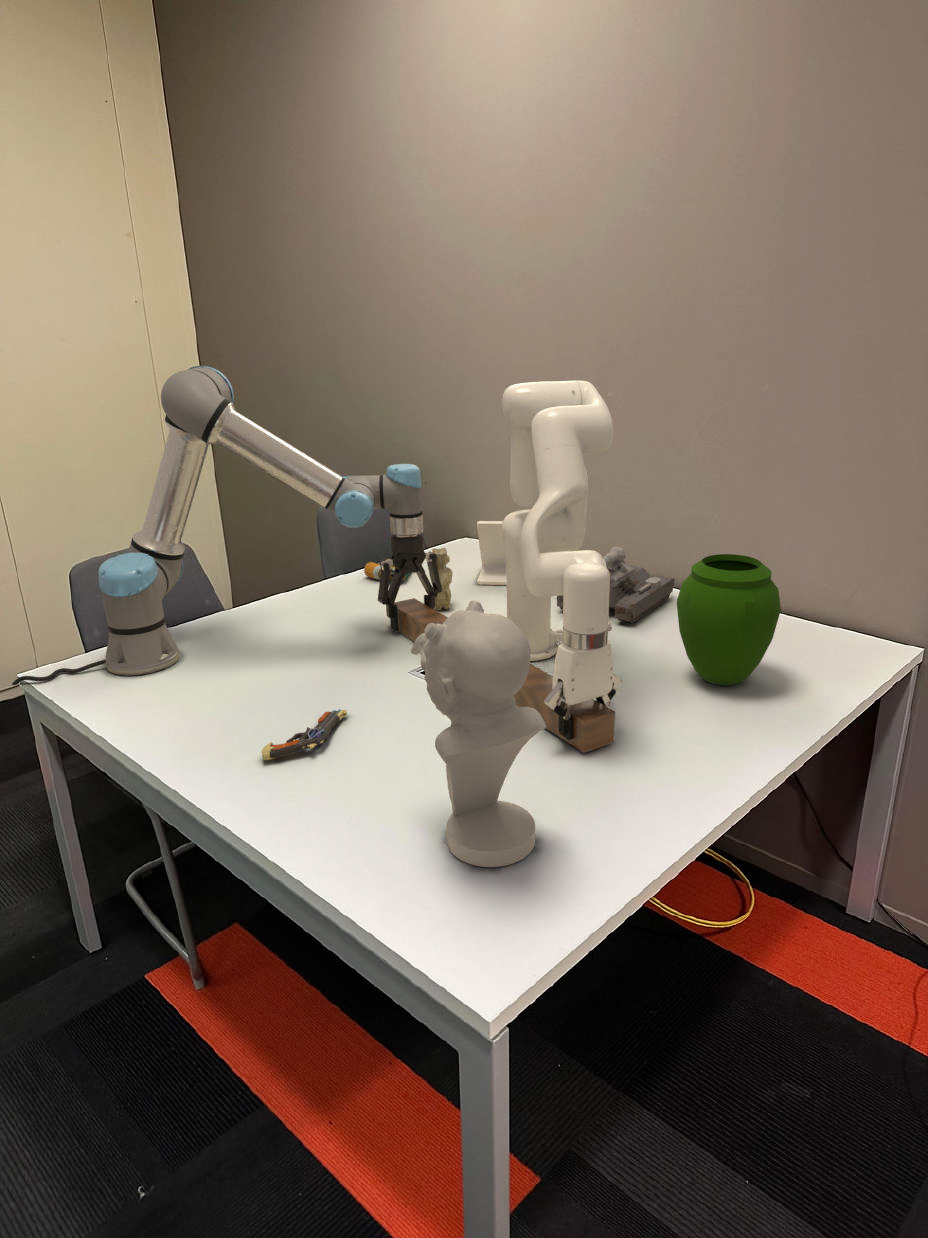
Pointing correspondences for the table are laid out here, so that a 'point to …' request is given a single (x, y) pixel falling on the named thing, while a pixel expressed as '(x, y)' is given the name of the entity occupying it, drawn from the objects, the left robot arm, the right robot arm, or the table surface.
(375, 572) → the spray gun
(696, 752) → the table surface
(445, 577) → the sculpture
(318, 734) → the toy gun
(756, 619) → the vase
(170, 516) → the left robot arm
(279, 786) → the table surface
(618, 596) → the toy
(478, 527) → the tablet stand
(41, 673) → the table surface
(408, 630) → the beam
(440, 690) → the bust sculpture
